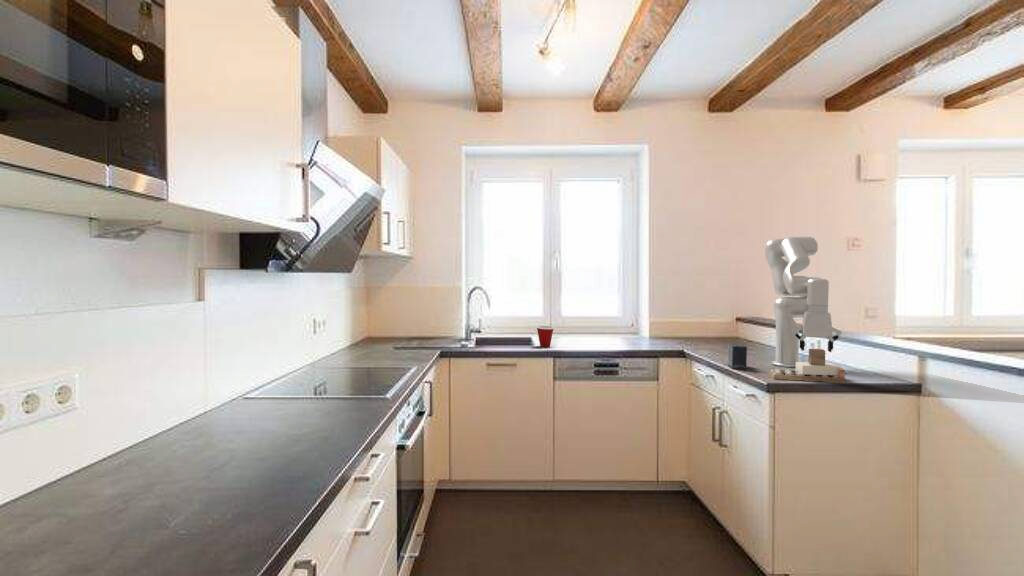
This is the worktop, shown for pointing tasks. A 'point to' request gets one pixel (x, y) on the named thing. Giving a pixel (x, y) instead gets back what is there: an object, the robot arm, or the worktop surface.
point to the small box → (737, 356)
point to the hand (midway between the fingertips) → (815, 350)
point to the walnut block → (816, 357)
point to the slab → (817, 369)
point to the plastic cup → (545, 335)
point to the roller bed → (808, 376)
